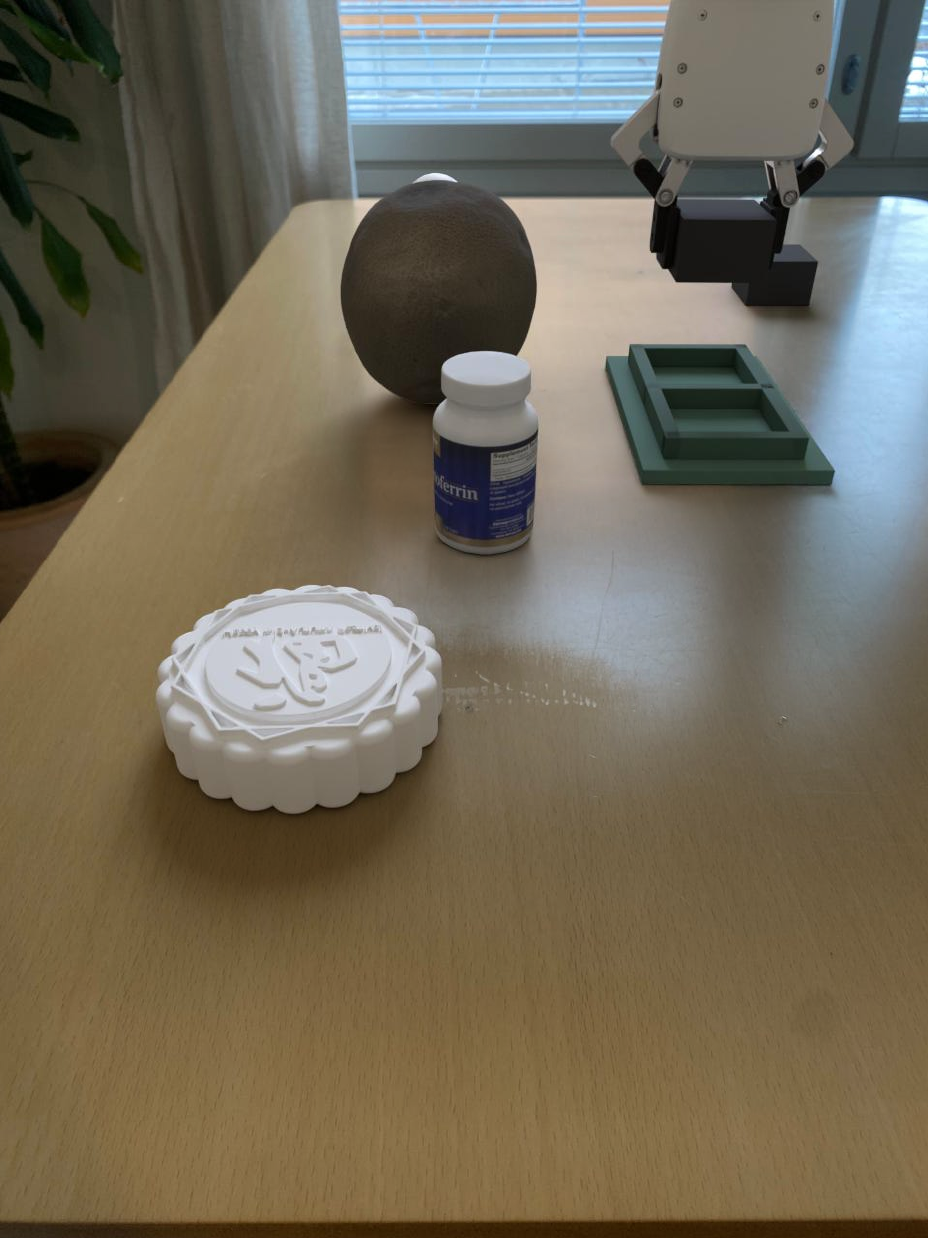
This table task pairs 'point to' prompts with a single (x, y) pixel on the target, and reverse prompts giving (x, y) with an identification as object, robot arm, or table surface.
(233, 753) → the mooncake
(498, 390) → the pill bottle
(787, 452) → the base mat
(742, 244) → the black square block
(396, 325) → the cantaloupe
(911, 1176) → the table surface
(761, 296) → the pad
